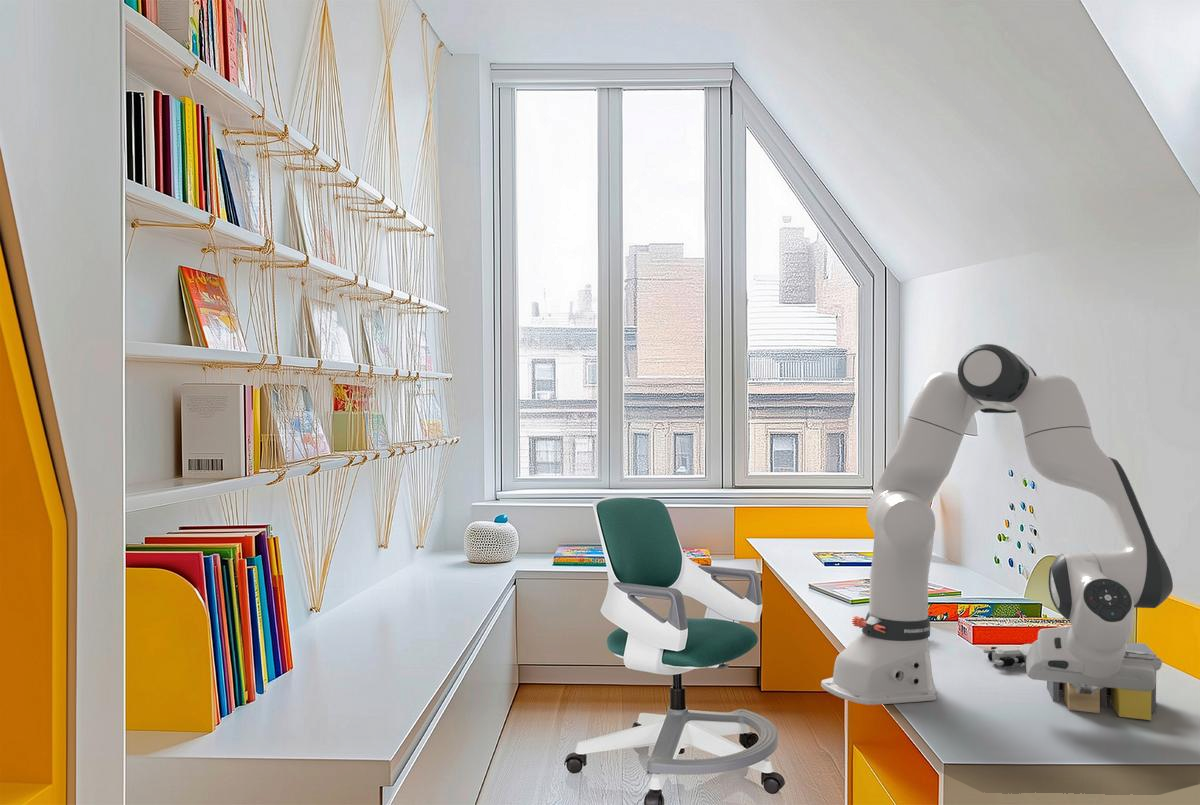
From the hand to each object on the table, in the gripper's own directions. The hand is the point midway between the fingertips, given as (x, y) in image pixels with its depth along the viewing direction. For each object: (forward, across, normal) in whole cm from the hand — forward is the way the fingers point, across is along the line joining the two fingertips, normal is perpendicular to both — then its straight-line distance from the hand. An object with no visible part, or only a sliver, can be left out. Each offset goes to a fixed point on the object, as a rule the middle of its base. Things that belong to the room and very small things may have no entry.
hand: (1084, 690), depth 165 cm
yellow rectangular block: (+6, -8, 0) cm, 10 cm away
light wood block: (+6, 0, 0) cm, 6 cm away
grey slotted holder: (+10, -4, -4) cm, 12 cm away
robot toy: (+24, +7, -18) cm, 31 cm away
